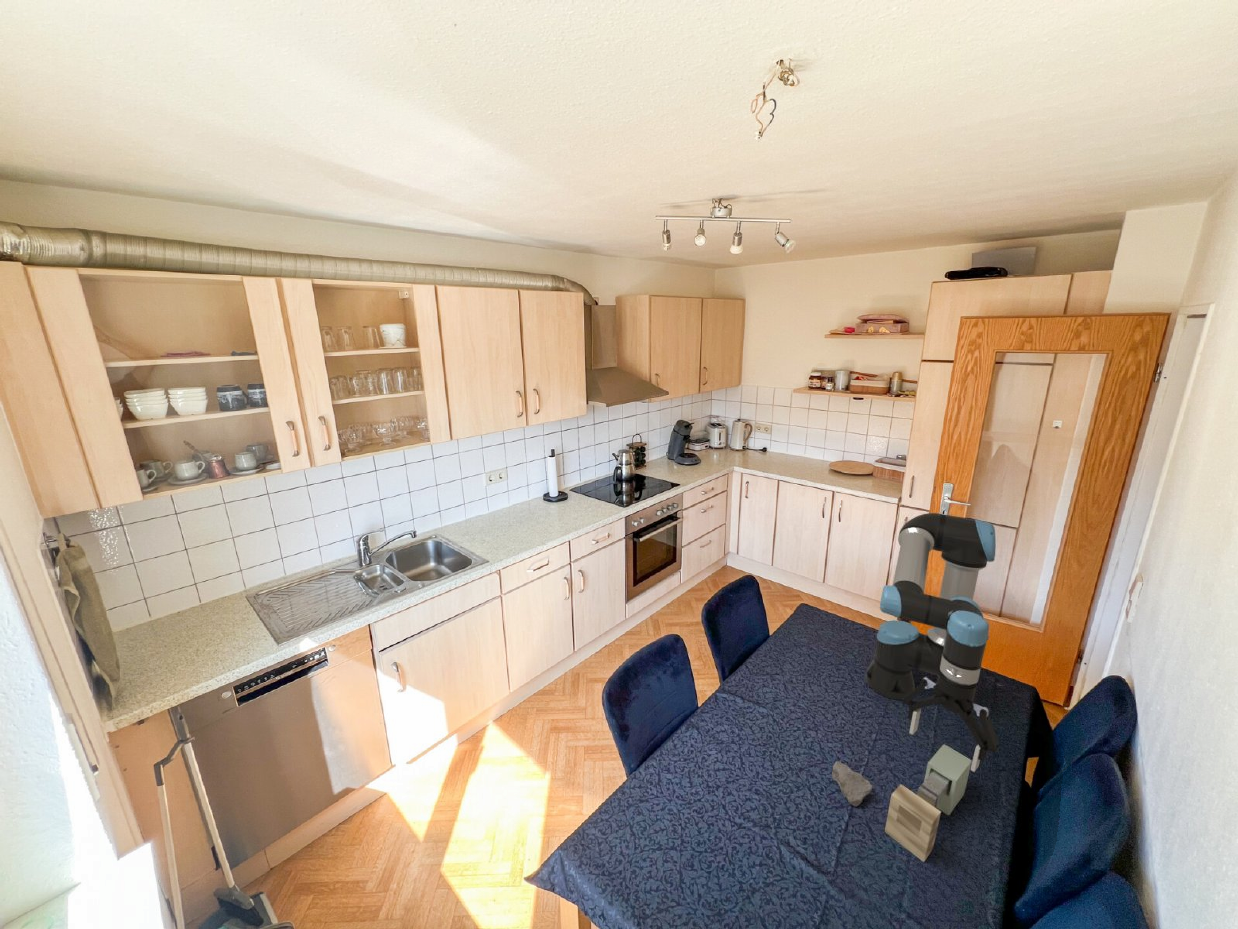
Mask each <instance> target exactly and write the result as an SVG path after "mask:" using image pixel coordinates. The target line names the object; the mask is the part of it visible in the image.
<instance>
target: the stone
mask: <svg viewBox="0 0 1238 929" xmlns="http://www.w3.org/2000/svg"><path fill="white" fill-rule="evenodd" d="M831 777H832V779H833V781H834V782H836V783H837V784H838V786H839V789H840V791H841V793H842V796H843V797H844V798H846V800H847V801H848V804H850V805H852V806H853V807H858V806H859V805H860V804H861V803H862V802H863V800H864V799H865V798H866V796H867V795H869V794H870V793H871V792H872V789H873V785H872V784H871V782H870V781H869V780H867V779H865V778H864V777H863V774H861V773H859V772H855V771H853V769H851V768H850V767H849V766H848V765H847V764H846V763H842V762H841V761H839V760H836V761H835V763H833V766H832V772H831Z"/></svg>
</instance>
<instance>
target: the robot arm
mask: <svg viewBox="0 0 1238 929" xmlns="http://www.w3.org/2000/svg"><path fill="white" fill-rule="evenodd" d="M897 541H898V544H899V546H900V548H899V551H898V557H897V561H896V566H895V572H894V576H893V582H892V585H887V584H886V585H884V586H883V588H882V591H881V598H880V602H879V610H880V611H881V612H882V613H884V614H887V615H890V616H893V617H895V618H899V619H902V620H897V619H896V620H895V619H893V620H888V621H885V622H883V623H881V624H880V626H879V627H878V631H877V634H876V642H875V650H874V654H873V655H874V656H873V660H872V662H870V664H869V666H868V667H867V669H866V671H865V683H866V684H867V685H868V687H869V688H871V690H873V691H874V692H876V693H877V694H879V695H880V696H882V697H886V698H887V699H892V700H896V701H898V700H899V701H902V702H901V703H903V704H904V705H907V706H908V708H909V709H908V716H907V717H908V720H910V728H909V731H908V732H909V734H910V735H914V734H915V733H916V732H917V731H918V727H919V724H920V722H919V721H920V717H921V712H922V709H923V708H926V707H929V706H932V705H933V706H935V705H937V704H940V705H941V707H943V708H944V709H947V710H948V711H950V712H952V713H954V714H956V715H959V717H960V718H961V720H962V722H964V723H965V724H966V726H967V728H968V730H969V731H970V733H971V735H972V736H973V738H974V739H975V742H976V743H977V745H976V747H975V749H974V753H973V757H972V763H971V767H970V771H972V772H973V773H975V772H976V770H977V769H978V768H979V766H980V761H981V762H983V763H984V761H986V759H987V757H988V753H989V752H990V753H991V754H993V755H996V754H997V753H998V751H999V750H1000V749H1001V746H1000V743H999V740H998V737H997V734H996V732H995V729H994V725H993V722H992V720H991V717H990V711H991V709H990V707H989V706H988V705H983V706H981V705H979V704H977V703H976V702H975V695H976V692H977V687H978V682H979V678H980V674H981V669H982V668H981V667H982V662H983V659H984V654H985V650H986V645H987V642H988V641H989V637H990V636H989V633H990V624H989V622H988V621H987V620H986V619H985V618H984V614H983V612H982V610H981V607H980V606H979V604H978V603H977V602H976V601H974V597H975V592H976V587H977V582H978V577H979V572H980V570H983V569H985V568H987V565H988V563H991V562H994V561H995V558H996V529H995V526H994V524H992V523H991V522H988V521H984V520H978V519H977V518H969V517H963V516H962V517H961V516H956V515H949V514H943V513H937V512H927V513H923V514H920V515H917V516H915V517H912V518H911V519H909V520H908V521H907V522H906V523H905V524H903V526H902V527H901V529H900V530H899V533H898V536H897ZM932 550H933V551H936V552H941V554H940V556H941V560H943V561H944V563H945V565H944V571H943V575H942V580H941V587H940V592H939V597H938V596H934V595H929V594H927V593H925V588H926V584H927V583H926V581H927V574H928V572H927V571H928V566H929V565H928V564H929V556H930V552H931V551H932ZM903 620H907V621H911V622H915V623H918V624H923V625H927V626H930V627H931V628H928V629H927V631H926V634H925V633H921V632H920V631H919V629H918V627H917V626H915V625H912V623H911V622H907V621H903ZM913 669H916V670H919V671H922V672H925V673H928V674H932V675H934V676H937V680H936V682H933V681H932V680H931V678H930V676H927V675H926V676H924V677H923V678H922V679H921V680H920V683H919V685H918V686H916V685H915V681H914V675H913V672H912V671H913ZM915 686H916V687H915ZM930 689H932V690H933V692H934V694H933V695H931V696H928V697H924V698H922V699H918V700H914V699H915V698H916V697H917V696H919V695H920V694H921V693H922V692H924V690H930ZM973 710H974V711H975V712H976V716H977V717H978V718H979V722H980V724H979V723H978V721H977V719H976V718H975V716H974V715H975V714H974V712H973Z"/></svg>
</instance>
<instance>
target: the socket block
mask: <svg viewBox="0 0 1238 929" xmlns="http://www.w3.org/2000/svg"><path fill="white" fill-rule="evenodd" d="M887 812H888V813H887V818H886V823H885V829H884V833H886V834H887V835H888V836H889V837H891V838H892V840H893V839H894V841H896V842H897V843H898V844H900V845H901V846H902V847H903V848H904V849H906V850H907V851H909V852H910V853H912V855H914V856H915V857H916V858H918V859H919V860H920V861H921V862H922V863H924V862H925V861H926V860H927V858H928V857H929V855H930V854H931V853H932V852H933V849H934V846H935V841H936V836H937V832H938V828H939V822H940V817H941V815H942V814H941V813H942V811H941V810H939V809H938V808H937V807H936V808H935V807H933V806H932V805H931V804H929V803H928V802H926V801H925V800H923V799H922V798H920V797H919V796H917V793H915V792H913V791H912V790H910V789H909V788H907V787H906V786H904V785H903V784H901V783H900V784H899V785H898V786H897V788H895V790H894V791H893V792H892V793H891V795H890V801H889V806H888V811H887Z"/></svg>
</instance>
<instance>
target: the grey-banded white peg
mask: <svg viewBox="0 0 1238 929" xmlns="http://www.w3.org/2000/svg"><path fill="white" fill-rule="evenodd" d="M951 785H952V781H951V780H950V779H948V778H947V777H945V776H943V775H942V774H940V773H939V772H937V771H936V770H933V771H932V772H931V774H930V775H929V776H928V777H927V779H926V780H925V781H924V780H923V782H922V784H920V785H919V787H918V788H917V792H916V795H917V796H919V797H920V798H922V799H923V800H925V801H926V802H928V803H929V804H931V805H932V806H933V807H935V808H936V809H937V805H938V804H939V803H940V801H941V800H942V799H943V797H944V796H945V795H946V793H947V792H948V791H949V789H950V788H951Z"/></svg>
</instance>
